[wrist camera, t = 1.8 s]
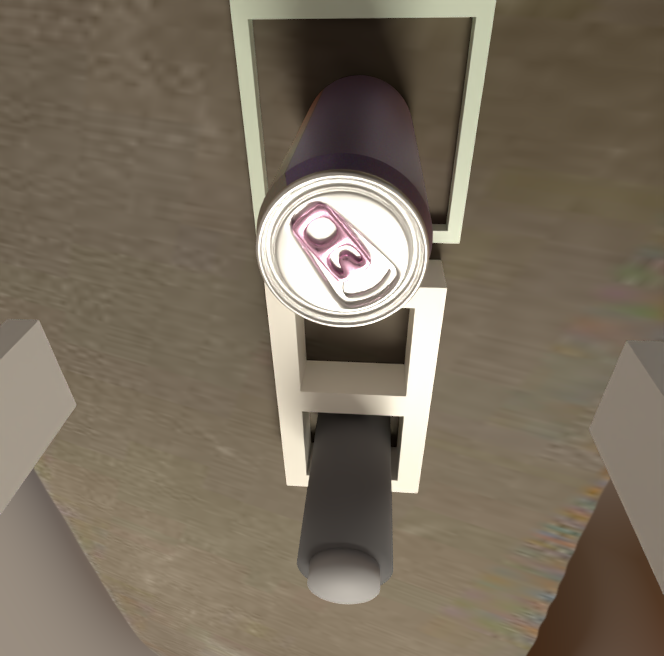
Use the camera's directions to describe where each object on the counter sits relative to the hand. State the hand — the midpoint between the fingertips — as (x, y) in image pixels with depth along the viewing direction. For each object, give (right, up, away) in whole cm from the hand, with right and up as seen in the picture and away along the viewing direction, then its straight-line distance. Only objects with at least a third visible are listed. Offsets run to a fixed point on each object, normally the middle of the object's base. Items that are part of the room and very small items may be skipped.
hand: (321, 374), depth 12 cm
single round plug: (+2, -6, +30) cm, 30 cm away
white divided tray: (+2, -2, +27) cm, 27 cm away
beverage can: (+2, +12, +16) cm, 21 cm away
